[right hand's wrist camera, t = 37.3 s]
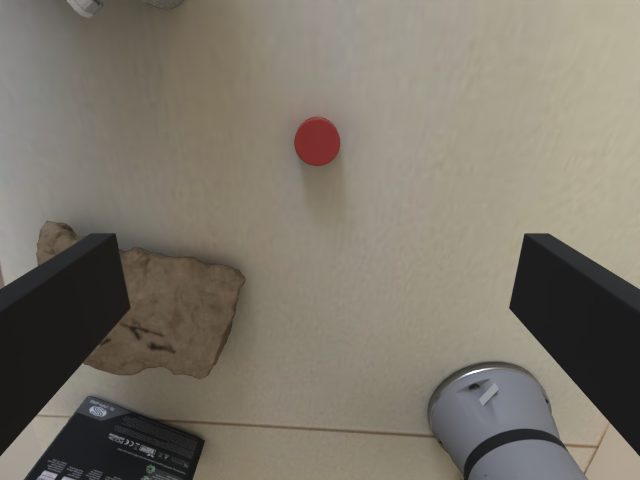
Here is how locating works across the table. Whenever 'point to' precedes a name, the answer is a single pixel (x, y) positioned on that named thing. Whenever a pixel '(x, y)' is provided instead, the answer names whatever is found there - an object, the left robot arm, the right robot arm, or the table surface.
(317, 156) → the cap
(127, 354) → the stone
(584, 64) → the table surface
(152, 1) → the bottle
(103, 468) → the graphics card box
